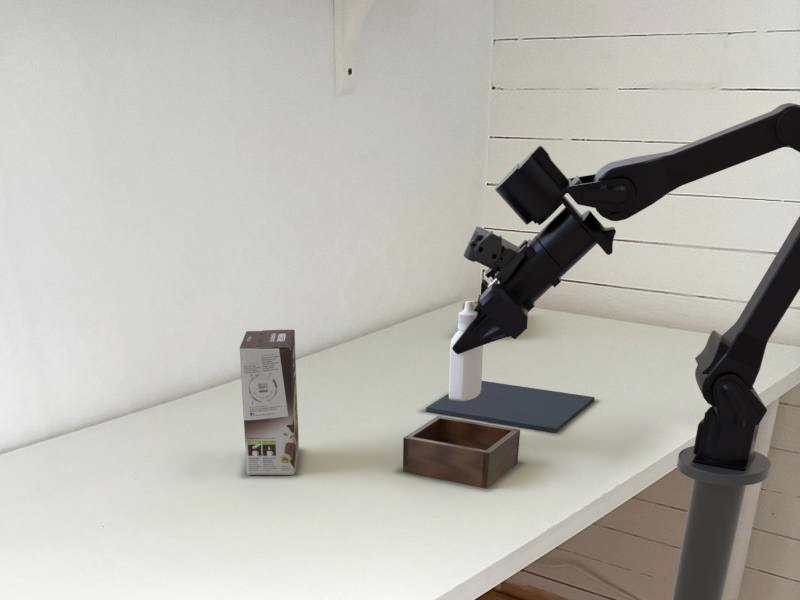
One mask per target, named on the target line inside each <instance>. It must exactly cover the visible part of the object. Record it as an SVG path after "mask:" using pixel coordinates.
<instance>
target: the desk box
mask: <svg viewBox="0 0 800 600" xmlns="http://www.w3.org/2000/svg"><path fill="white" fill-rule="evenodd" d="M520 439H521V429H520V428H515V427H514V428H513V427H508V426H501V425H495V424H490V423H484V422H478V421H471V420H466V419H459V418H454V417H447V416H442V415H436V416H435V417H433V418H432V419H430V420H429V421H427V422H425V423H424V424H422V425H420V426H419V427H418V428H416V429H415V430H413V431H411V432H410V433H408V434H407V435H405V436H404V437H403V439H402V442H403V443H402V472H403V473H406V474H407V473H409V474H413V475H418V476H422V477H428V478H433V479H438V480H442V481H443V480H444V481H448V482H453V483H458V484H463V485H468V486H473V487H479V488H482V489H488V488H490V487H491V486H492V485H493V484H494V483H496V482H497V481H498V480H499V479H500V478H502V477H503V476H504V475H505V474H506V473H507V472H509V471H510V470H511V469H513V467H515V466H516V465H517V464H518V461H519V451H520V441H521V440H520Z"/></svg>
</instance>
